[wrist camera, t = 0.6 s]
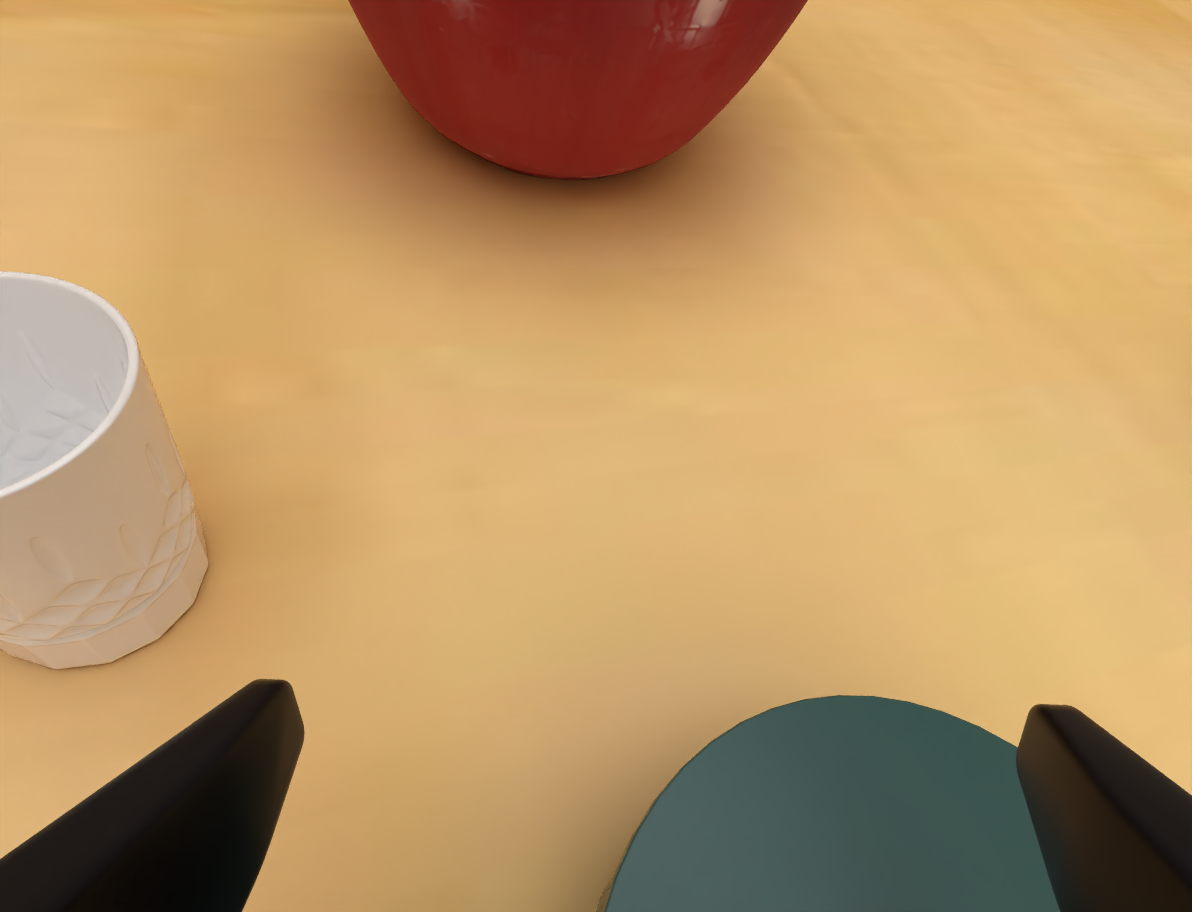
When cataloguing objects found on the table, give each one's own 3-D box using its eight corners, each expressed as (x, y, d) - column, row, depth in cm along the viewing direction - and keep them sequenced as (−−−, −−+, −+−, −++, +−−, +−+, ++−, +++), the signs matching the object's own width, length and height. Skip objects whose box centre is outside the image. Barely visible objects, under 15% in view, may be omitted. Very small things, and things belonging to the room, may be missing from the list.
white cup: (235, 474, 29) (157, 269, 21) (217, 671, 25) (109, 504, 17) (-2, 489, 27) (-184, 270, 19) (-69, 706, 23) (-342, 535, 15)
